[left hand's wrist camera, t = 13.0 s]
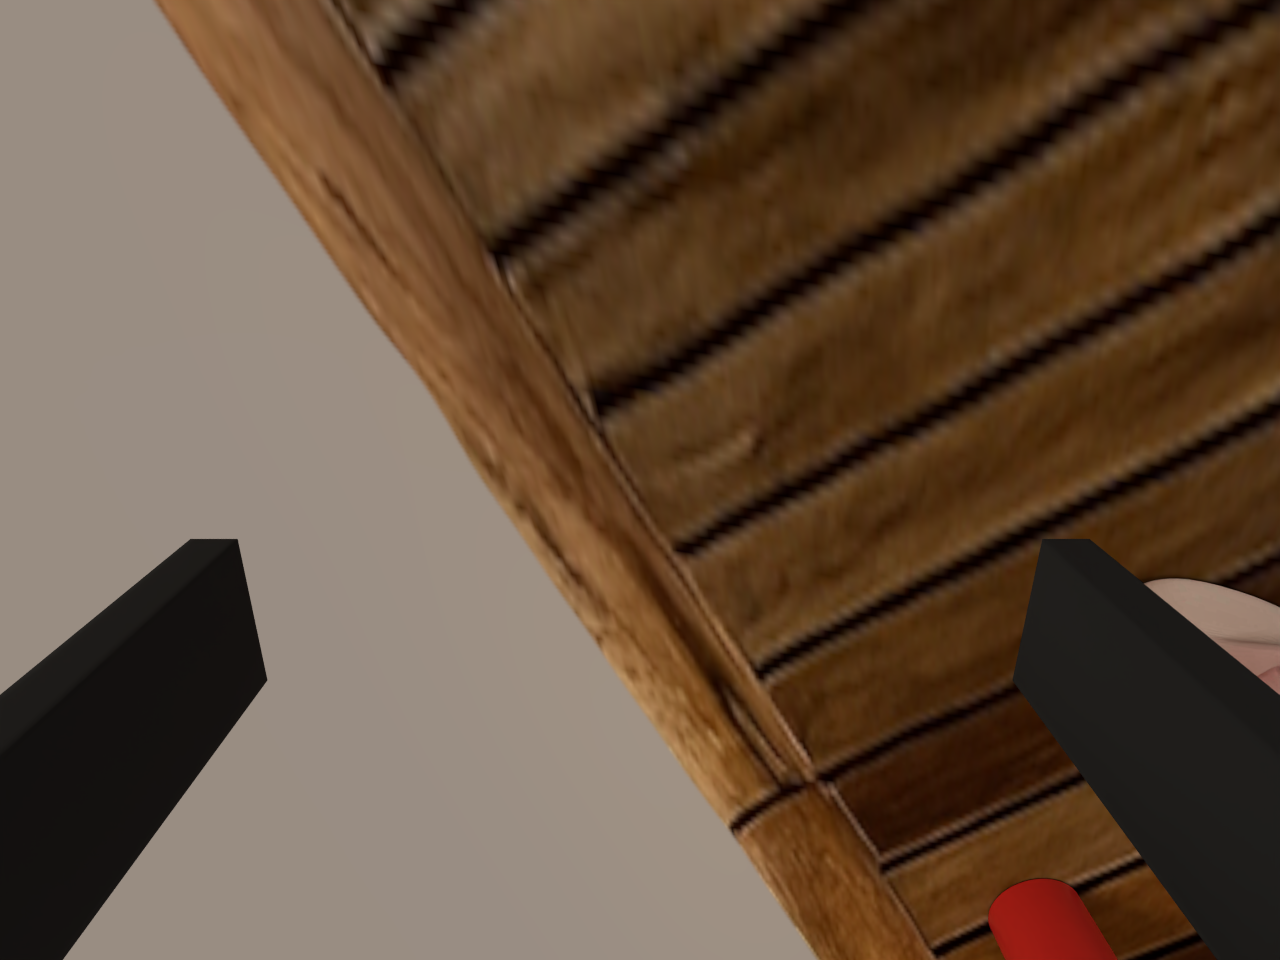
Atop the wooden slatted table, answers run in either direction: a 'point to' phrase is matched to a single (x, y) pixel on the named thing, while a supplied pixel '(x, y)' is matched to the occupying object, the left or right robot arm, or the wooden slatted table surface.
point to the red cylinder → (1046, 924)
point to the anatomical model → (1230, 622)
